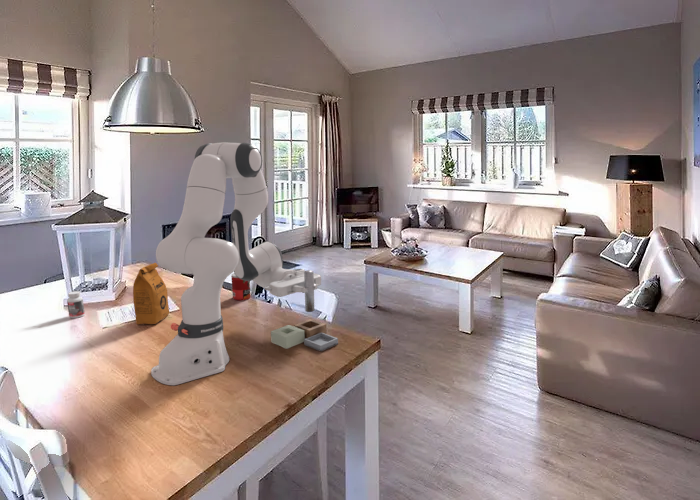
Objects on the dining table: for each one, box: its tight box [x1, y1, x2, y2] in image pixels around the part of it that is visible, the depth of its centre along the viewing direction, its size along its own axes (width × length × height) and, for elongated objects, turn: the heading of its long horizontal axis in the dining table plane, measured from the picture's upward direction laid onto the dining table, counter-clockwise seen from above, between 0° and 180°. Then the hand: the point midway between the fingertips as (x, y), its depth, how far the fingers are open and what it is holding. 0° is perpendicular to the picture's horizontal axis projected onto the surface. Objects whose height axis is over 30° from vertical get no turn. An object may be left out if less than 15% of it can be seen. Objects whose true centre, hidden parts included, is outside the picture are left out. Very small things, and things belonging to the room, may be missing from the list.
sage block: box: [270, 324, 305, 350], centre depth 154 cm, size 8×8×4 cm
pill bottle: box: [66, 290, 86, 319], centre depth 180 cm, size 5×5×10 cm
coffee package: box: [132, 262, 170, 326], centre depth 173 cm, size 10×12×22 cm
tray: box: [303, 332, 339, 352], centre depth 152 cm, size 8×8×2 cm
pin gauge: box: [304, 269, 316, 313], centre depth 157 cm, size 3×3×14 cm
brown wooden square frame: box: [293, 318, 328, 339], centre depth 160 cm, size 8×8×4 cm
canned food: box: [231, 272, 252, 302], centre depth 201 cm, size 8×8×11 cm
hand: (311, 288), depth 156 cm, fingers closed on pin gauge, 3 cm apart
